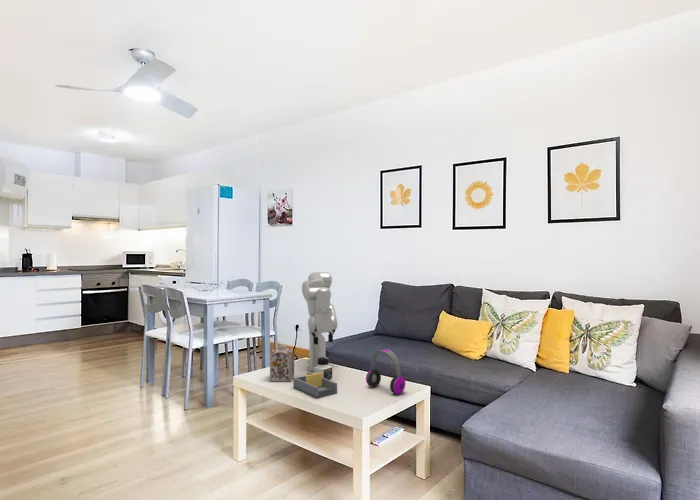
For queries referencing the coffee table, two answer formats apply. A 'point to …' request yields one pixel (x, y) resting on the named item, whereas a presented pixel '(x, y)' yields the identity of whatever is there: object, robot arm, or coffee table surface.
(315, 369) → the medicine bottle
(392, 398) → the coffee table surface
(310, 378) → the pusher
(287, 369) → the decorative jar
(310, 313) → the robot arm
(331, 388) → the gray tray
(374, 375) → the headphones
